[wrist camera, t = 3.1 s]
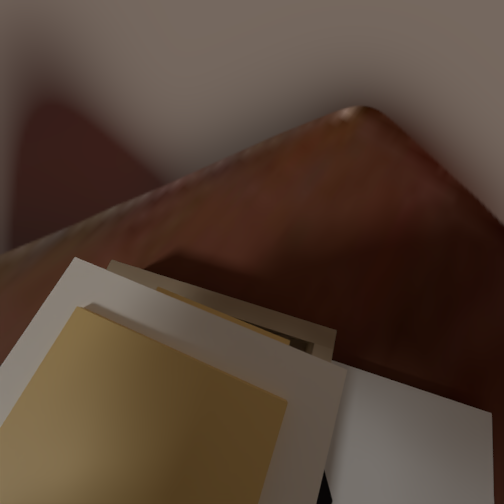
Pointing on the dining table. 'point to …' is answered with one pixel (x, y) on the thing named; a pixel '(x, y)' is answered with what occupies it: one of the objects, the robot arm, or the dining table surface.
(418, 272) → the dining table surface
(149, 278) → the tray
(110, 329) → the cream box
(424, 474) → the coaster
